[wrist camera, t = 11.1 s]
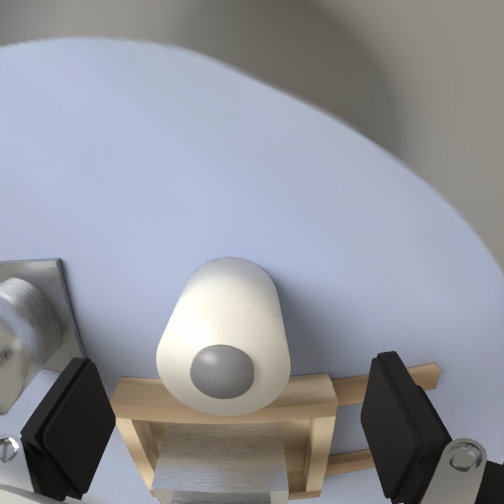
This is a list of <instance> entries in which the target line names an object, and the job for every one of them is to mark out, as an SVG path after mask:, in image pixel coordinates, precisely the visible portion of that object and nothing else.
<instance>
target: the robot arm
mask: <svg viewBox="0 0 504 504" xmlns="http://www.w3.org/2000/svg"><path fill="white" fill-rule="evenodd" d="M115 424H116V417H115V414H114V412H113V409H112V407H111V404H110V402H109V399H108V397H107V394H106V392H105V389H104V387H103V384H102V382H101V379H100V376H99V373H98V371H97V368H96V365H95V364H94V363H92V362H91V360H90V359H88V358H80V357H74V358H73V359H72V360H71V361H70V362H69V364H68V365H67V366H66V368H65V369H64V370H63V372H62V373H61V375H60V376H59V377H58V379H57V380H56V381H55V383H54V384H53V386H52V387H51V388H50V390H49V391H48V393H47V394H46V395H45V397H44V398H43V400H42V401H41V403H40V404H39V405H38V407H37V408H36V410H35V411H34V413H33V414H32V416H31V417H30V419H29V420H28V421H27V423H26V424H25V426H24V427H23V429H22V430H21V432H20V433H21V435H22V437H21V439H19V438H18V437H16V436H14V435H2V436H0V504H67V503H66V501H65V498H66V496H69V497H72V498H75V499H79V500H81V498H82V496H83V494H85V493H87V492H88V489H89V487H90V484H91V482H92V479H93V477H94V475H95V472H96V470H97V467H98V465H99V462H100V460H101V458H102V455H103V453H104V450H105V448H106V446H107V443H108V441H109V439H110V436H111V434H112V432H113V429H114V427H115ZM361 424H362V427H363V430H364V433H365V436H366V439H367V442H368V445H369V448H370V451H371V454H372V457H373V460H374V463H375V467H376V470H377V473H378V476H379V479H380V483H381V486H382V489H383V492H384V495H385V497H386V498H387V499H388V498H390V499H391V502H392V504H399V503H404V504H504V465H501V464H498V463H494V462H491V461H488V460H487V455H486V451H485V449H484V448H483V446H482V445H481V444H479V443H478V442H477V441H474V440H472V439H467V438H461V439H456V440H454V441H453V440H452V438H451V436H450V435H449V433H448V431H447V429H446V428H445V426H444V424H443V422H442V420H441V419H440V417H439V415H438V414H437V412H436V410H435V408H434V407H433V405H432V403H431V402H430V400H429V398H428V397H427V395H426V393H425V391H424V390H423V388H422V387H421V386H419V385H416V384H415V382H414V380H413V379H412V377H411V375H410V374H409V372H408V370H407V369H406V367H405V365H404V364H403V362H402V361H401V359H400V357H399V356H398V354H397V353H396V352H395V351H391V352H384V353H379V354H378V355H377V358H373V359H372V362H371V368H370V373H369V378H368V383H367V388H366V393H365V397H364V402H363V406H362V411H361Z"/></svg>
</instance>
